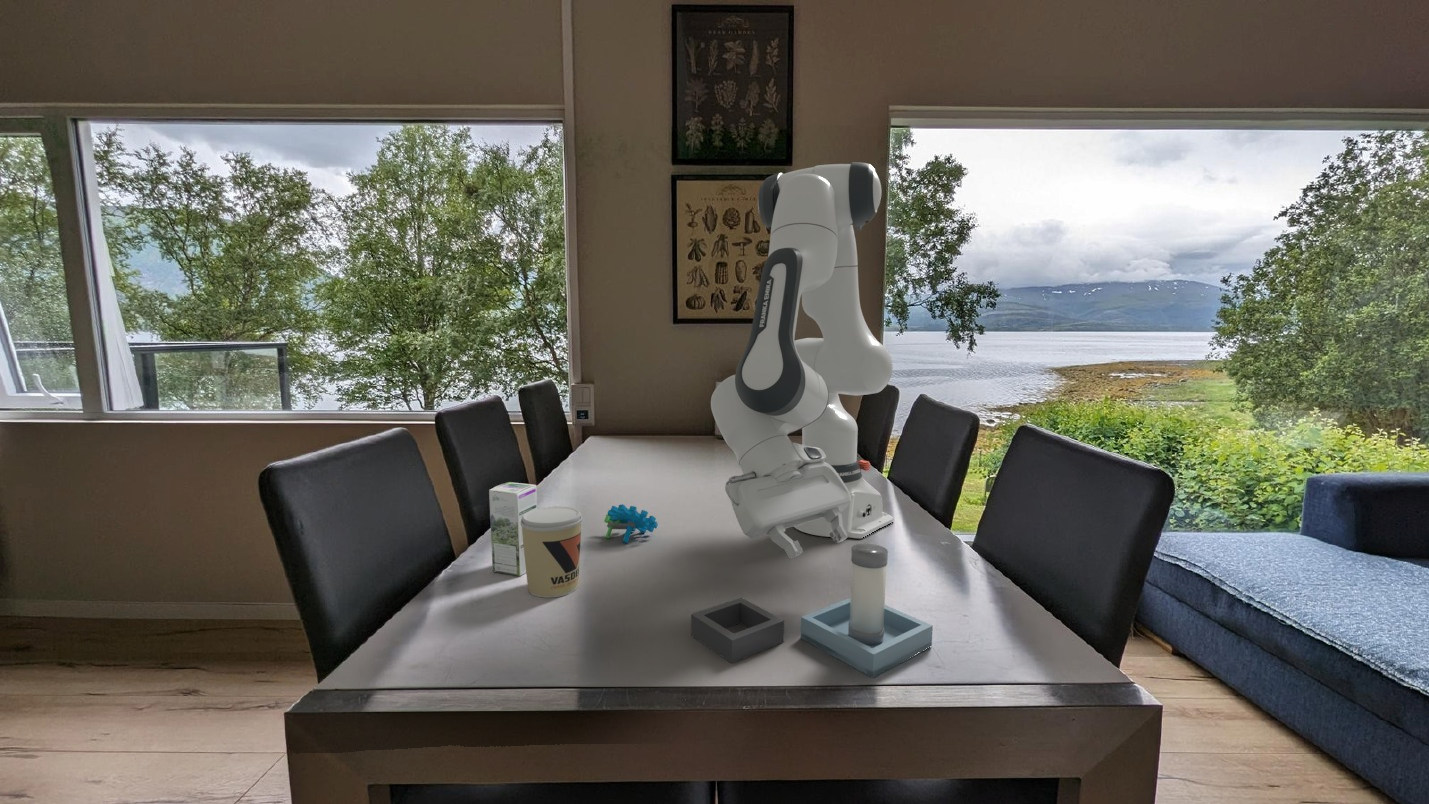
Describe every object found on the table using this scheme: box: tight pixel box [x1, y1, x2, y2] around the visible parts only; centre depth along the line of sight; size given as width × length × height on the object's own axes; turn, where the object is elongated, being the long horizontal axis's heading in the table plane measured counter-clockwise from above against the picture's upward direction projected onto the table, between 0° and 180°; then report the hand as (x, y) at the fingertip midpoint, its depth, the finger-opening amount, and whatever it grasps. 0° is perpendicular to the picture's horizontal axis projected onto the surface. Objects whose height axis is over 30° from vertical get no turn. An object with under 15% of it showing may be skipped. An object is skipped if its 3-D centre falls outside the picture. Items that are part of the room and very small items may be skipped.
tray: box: [800, 597, 934, 679], centre depth 83 cm, size 12×12×3 cm
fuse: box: [848, 543, 889, 646], centre depth 83 cm, size 5×5×12 cm
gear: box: [603, 504, 659, 544], centre depth 122 cm, size 11×6×10 cm
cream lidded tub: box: [521, 505, 583, 599], centre depth 99 cm, size 9×9×12 cm
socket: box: [690, 597, 785, 664], centre depth 84 cm, size 9×9×3 cm
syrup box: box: [488, 481, 538, 577], centre depth 106 cm, size 6×6×14 cm
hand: (820, 547), depth 90 cm, fingers open, 8 cm apart
